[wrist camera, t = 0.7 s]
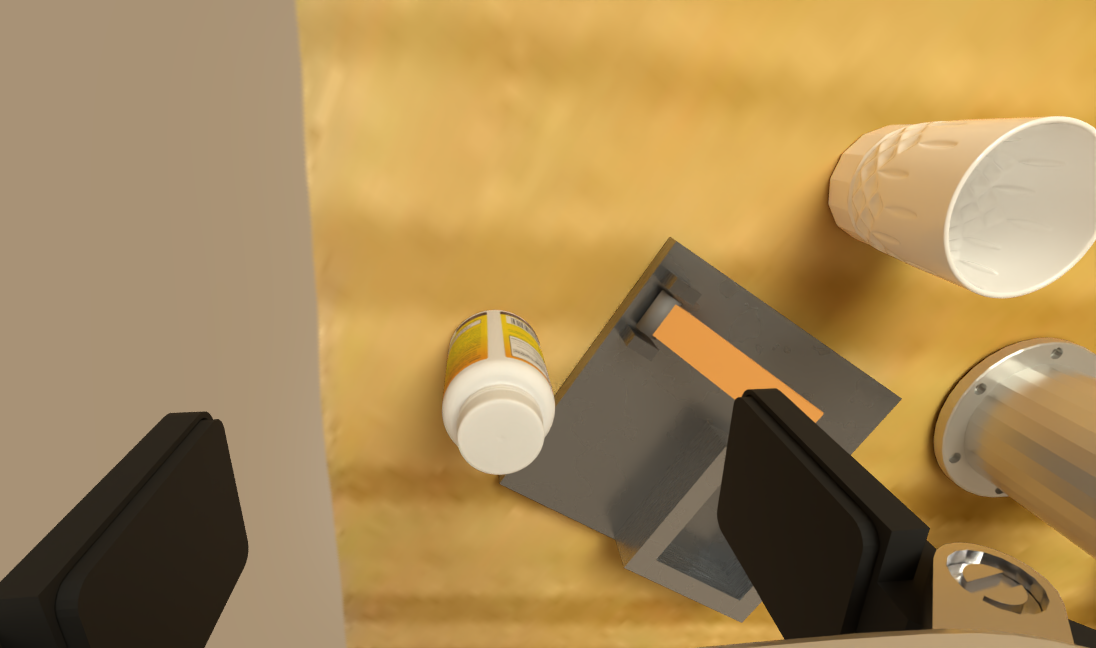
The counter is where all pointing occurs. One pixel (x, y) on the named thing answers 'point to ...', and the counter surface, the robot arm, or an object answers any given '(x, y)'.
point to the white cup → (974, 199)
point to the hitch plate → (680, 429)
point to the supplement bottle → (497, 392)
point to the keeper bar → (712, 352)
